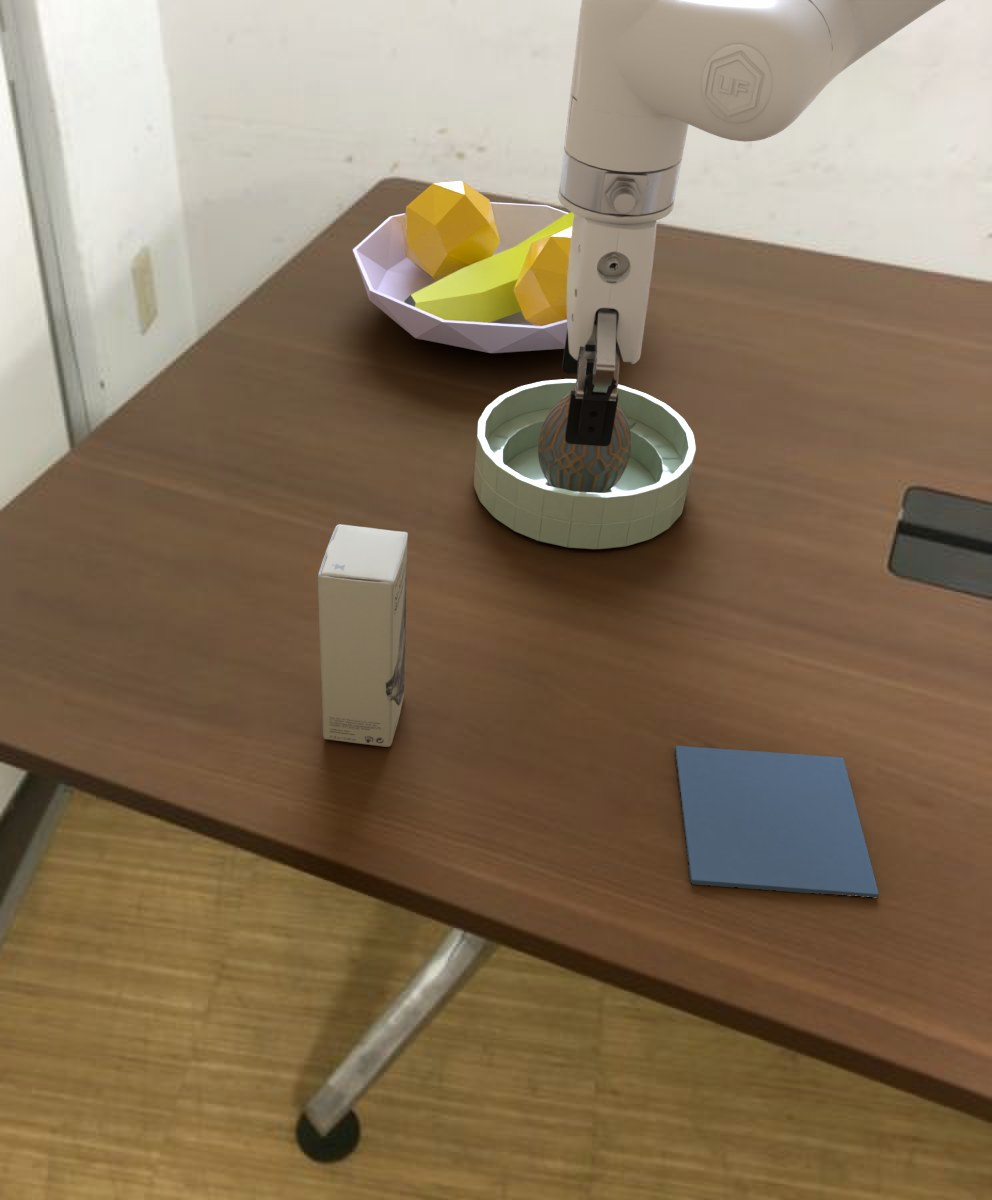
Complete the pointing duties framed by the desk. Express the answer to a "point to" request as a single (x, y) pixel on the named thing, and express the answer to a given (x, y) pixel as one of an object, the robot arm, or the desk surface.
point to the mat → (772, 822)
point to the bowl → (573, 517)
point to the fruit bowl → (472, 270)
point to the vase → (582, 453)
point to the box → (363, 633)
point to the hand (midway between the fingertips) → (584, 406)
